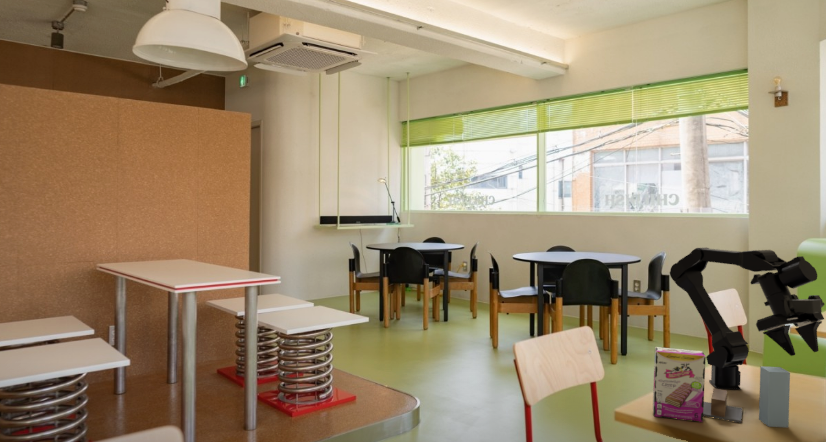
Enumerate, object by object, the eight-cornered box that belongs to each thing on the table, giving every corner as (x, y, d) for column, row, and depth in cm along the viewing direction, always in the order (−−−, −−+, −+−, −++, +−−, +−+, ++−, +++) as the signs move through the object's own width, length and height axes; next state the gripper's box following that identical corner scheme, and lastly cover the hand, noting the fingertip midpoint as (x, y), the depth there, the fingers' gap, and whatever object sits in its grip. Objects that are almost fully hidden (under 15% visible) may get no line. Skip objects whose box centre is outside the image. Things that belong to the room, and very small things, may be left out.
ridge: (710, 414, 142) (711, 398, 142) (713, 403, 149) (713, 388, 149) (724, 417, 140) (725, 400, 140) (726, 405, 148) (726, 390, 148)
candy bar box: (653, 417, 141) (655, 351, 141) (652, 410, 146) (653, 346, 145) (704, 423, 138) (706, 355, 137) (701, 416, 142) (703, 350, 142)
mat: (694, 414, 143) (694, 412, 143) (698, 403, 152) (698, 400, 152) (741, 423, 138) (741, 420, 138) (742, 410, 147) (742, 407, 147)
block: (767, 426, 136) (769, 371, 136) (758, 419, 141) (760, 366, 140) (788, 427, 136) (790, 372, 135) (778, 420, 140) (780, 367, 140)
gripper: (782, 285, 141) (811, 348, 135) (829, 282, 149) (859, 341, 143) (743, 300, 150) (769, 360, 144) (790, 296, 158) (816, 353, 152)
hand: (804, 353), depth 145 cm, fingers open, 9 cm apart
